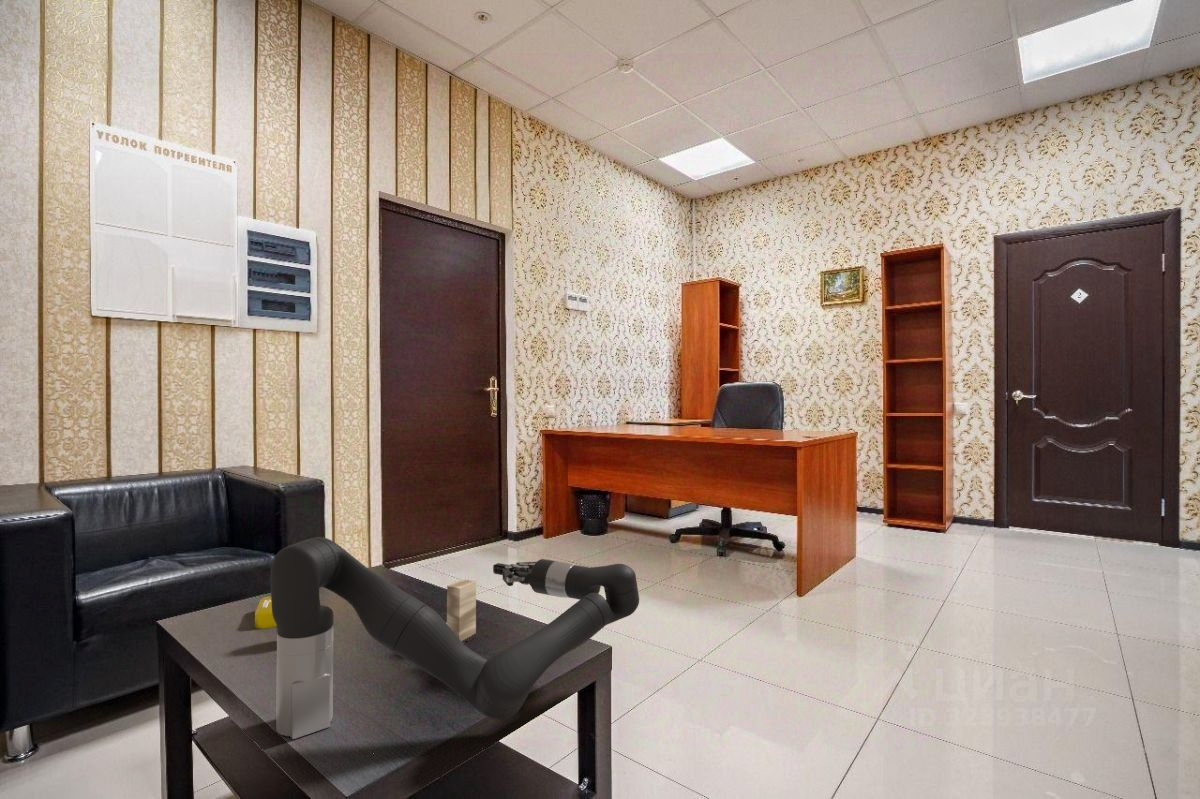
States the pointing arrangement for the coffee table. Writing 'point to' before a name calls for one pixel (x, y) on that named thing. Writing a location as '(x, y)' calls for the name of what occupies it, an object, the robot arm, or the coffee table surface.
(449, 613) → the birch block
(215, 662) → the coffee table surface
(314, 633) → the robot arm
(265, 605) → the element tile
